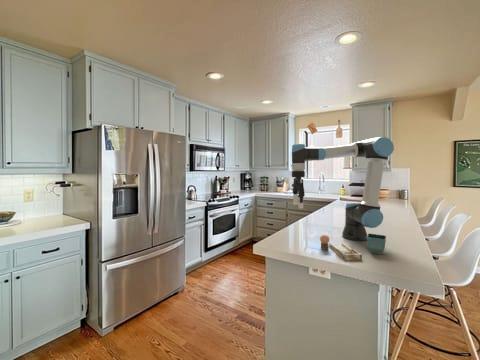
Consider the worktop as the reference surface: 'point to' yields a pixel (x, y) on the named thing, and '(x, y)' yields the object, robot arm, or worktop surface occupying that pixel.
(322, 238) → the ball
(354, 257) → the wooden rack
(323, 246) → the wooden square sleeve
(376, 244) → the flower pot
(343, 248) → the runway
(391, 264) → the worktop surface
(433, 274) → the worktop surface
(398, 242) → the worktop surface
